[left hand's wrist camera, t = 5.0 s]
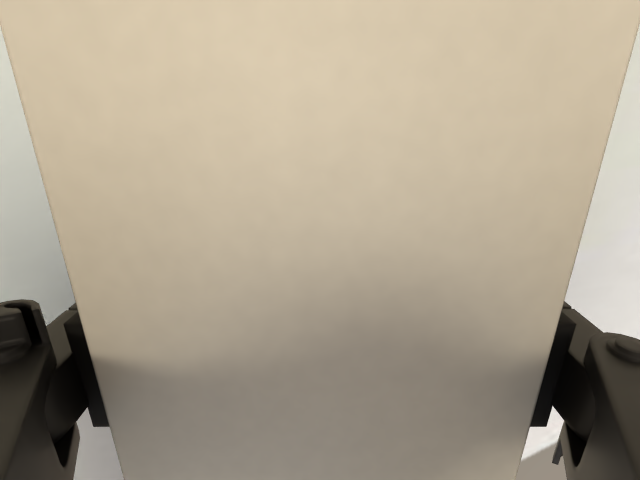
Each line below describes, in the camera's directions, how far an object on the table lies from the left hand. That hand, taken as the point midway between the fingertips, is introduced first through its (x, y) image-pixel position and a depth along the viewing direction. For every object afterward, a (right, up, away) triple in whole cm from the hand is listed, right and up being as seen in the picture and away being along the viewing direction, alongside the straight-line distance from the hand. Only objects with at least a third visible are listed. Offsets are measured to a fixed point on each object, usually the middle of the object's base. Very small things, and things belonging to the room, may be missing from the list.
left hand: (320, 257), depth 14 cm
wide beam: (0, +21, -8) cm, 23 cm away
